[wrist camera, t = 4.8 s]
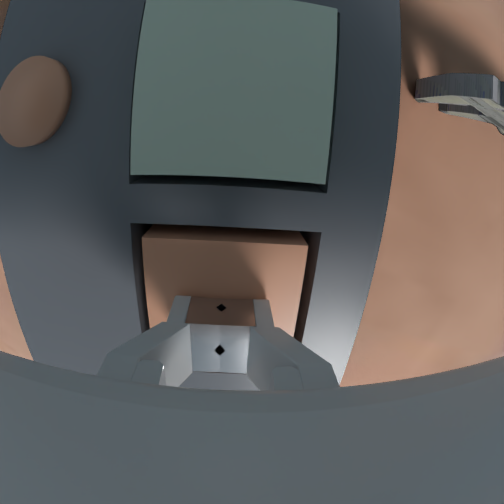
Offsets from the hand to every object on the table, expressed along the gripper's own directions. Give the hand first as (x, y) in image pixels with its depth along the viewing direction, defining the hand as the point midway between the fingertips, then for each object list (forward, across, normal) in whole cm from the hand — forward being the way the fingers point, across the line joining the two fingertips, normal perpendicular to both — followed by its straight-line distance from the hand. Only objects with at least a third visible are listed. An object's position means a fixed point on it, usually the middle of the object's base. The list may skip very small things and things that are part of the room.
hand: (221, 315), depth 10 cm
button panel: (+4, +2, -7) cm, 8 cm away
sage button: (+2, 0, -7) cm, 7 cm away
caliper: (+5, -18, -8) cm, 21 cm away
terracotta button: (+3, 0, 0) cm, 3 cm away
